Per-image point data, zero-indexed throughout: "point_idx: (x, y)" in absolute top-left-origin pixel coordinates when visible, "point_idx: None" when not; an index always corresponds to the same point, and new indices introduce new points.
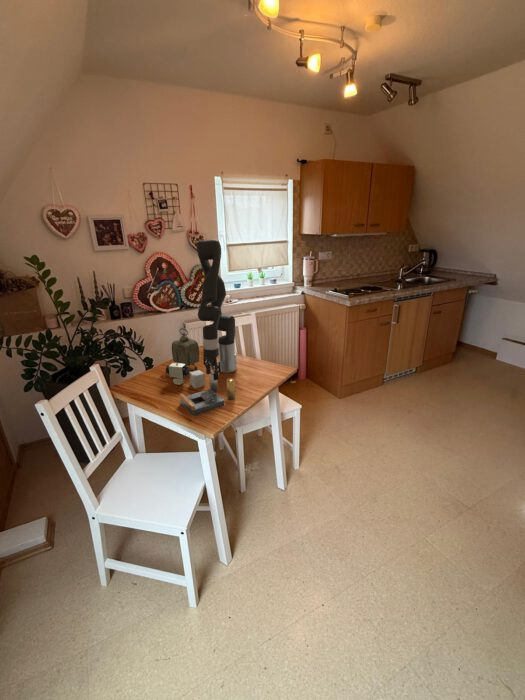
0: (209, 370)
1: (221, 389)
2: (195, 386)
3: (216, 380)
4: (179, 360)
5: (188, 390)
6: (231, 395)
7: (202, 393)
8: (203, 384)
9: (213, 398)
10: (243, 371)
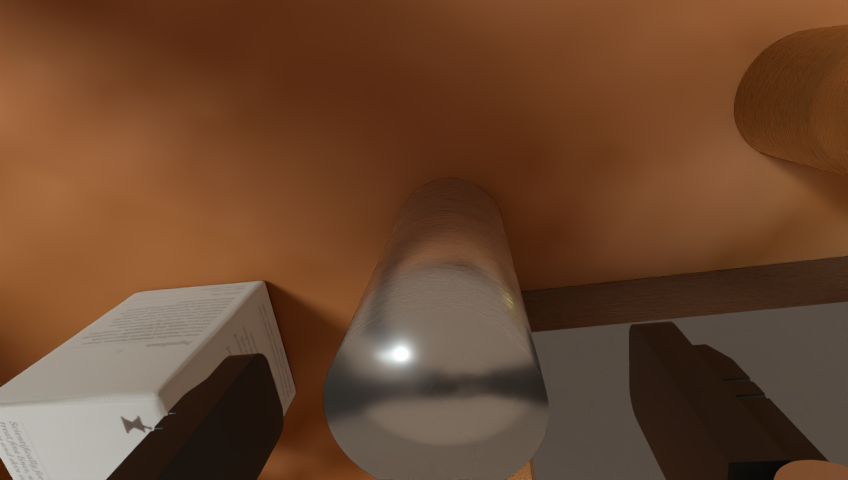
0: (224, 433)
1: (452, 123)
2: (286, 404)
3: (517, 281)
4: None
5: (313, 452)
6: None
7: (592, 453)
8: (261, 311)
9: (823, 392)
10: None
